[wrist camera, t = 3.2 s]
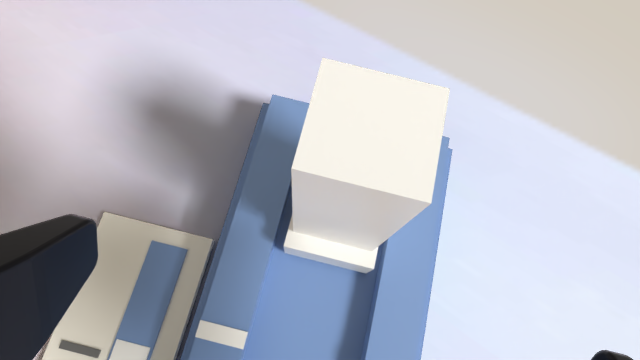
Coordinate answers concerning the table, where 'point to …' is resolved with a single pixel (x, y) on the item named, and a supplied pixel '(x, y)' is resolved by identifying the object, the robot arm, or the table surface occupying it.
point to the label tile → (133, 294)
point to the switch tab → (362, 163)
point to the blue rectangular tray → (309, 271)
